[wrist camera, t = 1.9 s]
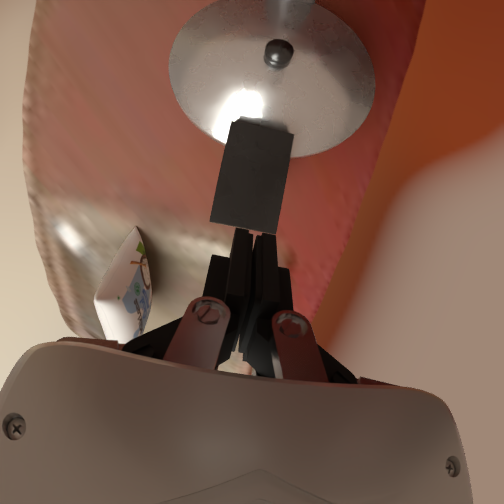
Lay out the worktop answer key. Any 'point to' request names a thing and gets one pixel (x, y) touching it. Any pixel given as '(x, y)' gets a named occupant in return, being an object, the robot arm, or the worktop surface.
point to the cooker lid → (268, 95)
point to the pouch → (125, 292)
